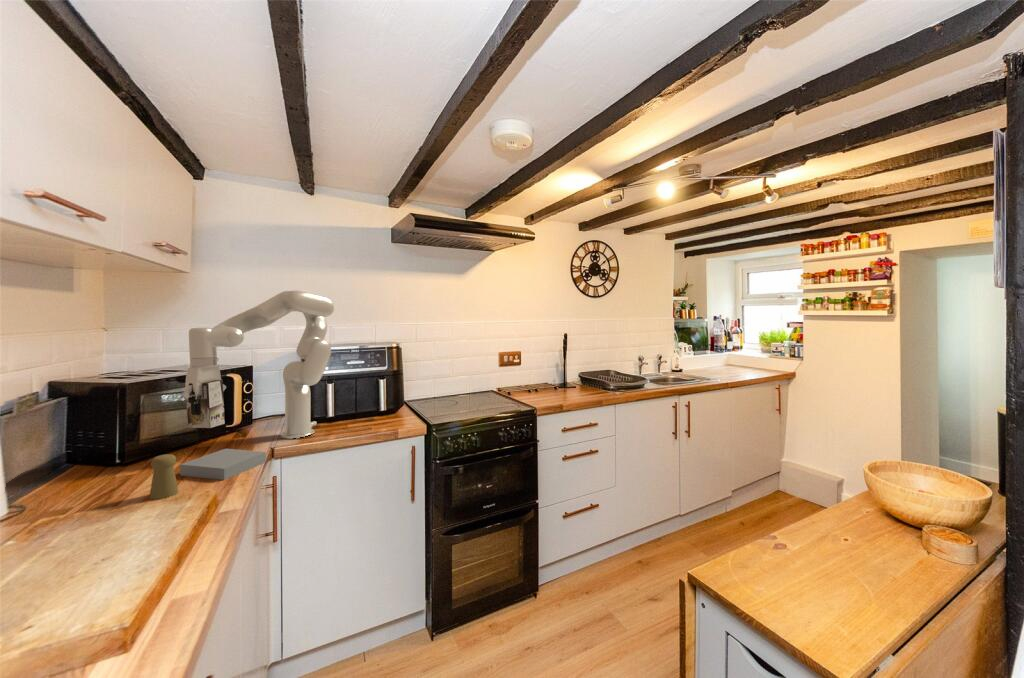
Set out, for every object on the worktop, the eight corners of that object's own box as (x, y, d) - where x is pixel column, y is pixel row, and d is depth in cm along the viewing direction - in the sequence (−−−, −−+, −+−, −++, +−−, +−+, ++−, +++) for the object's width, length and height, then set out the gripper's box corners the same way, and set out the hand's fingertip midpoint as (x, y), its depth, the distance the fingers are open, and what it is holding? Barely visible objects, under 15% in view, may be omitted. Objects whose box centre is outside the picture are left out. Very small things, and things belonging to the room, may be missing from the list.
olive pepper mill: (168, 498, 106) (168, 459, 106) (143, 500, 105) (142, 459, 105) (183, 489, 112) (183, 451, 112) (159, 490, 111) (159, 452, 111)
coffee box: (225, 423, 142) (223, 379, 141) (210, 428, 136) (208, 382, 135) (202, 422, 143) (200, 379, 142) (186, 427, 137) (184, 382, 136)
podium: (225, 458, 138) (225, 448, 138) (265, 462, 135) (265, 452, 135) (180, 475, 122) (180, 464, 122) (224, 480, 119) (224, 468, 119)
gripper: (216, 359, 147) (218, 406, 148) (169, 365, 130) (172, 418, 131) (234, 359, 146) (236, 407, 147) (188, 365, 129) (191, 419, 130)
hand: (205, 411), depth 139 cm, fingers closed on coffee box, 6 cm apart
